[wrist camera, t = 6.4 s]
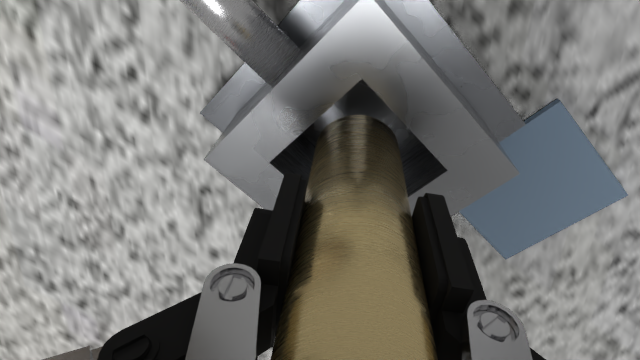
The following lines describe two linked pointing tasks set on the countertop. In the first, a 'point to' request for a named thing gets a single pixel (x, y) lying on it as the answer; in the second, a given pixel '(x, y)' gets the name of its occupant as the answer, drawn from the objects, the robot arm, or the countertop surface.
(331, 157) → the spice shaker
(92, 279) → the countertop surface
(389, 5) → the chuck block
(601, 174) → the rubber mat
